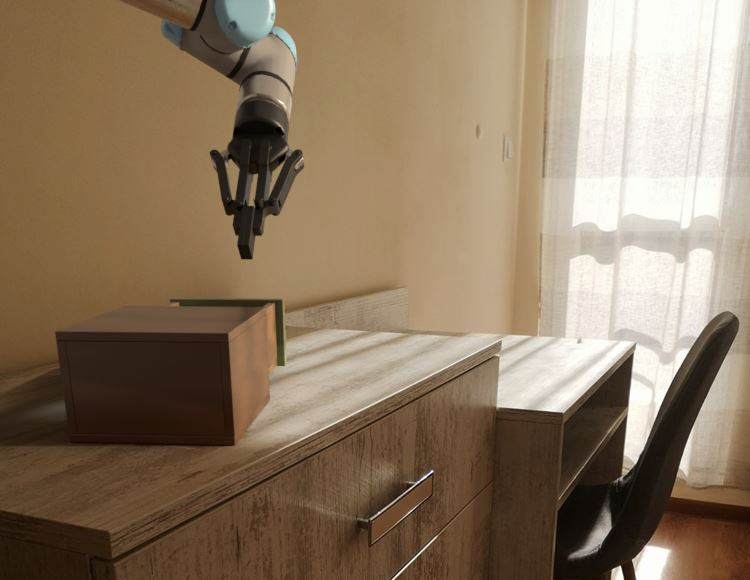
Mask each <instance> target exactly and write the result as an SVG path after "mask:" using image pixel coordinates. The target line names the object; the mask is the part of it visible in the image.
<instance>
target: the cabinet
mask: <svg viewBox="0 0 750 580" xmlns="http://www.w3.org/2000/svg"><path fill="white" fill-rule="evenodd" d="M54 333H55V334H54V335H55V341H56V342H55V343H56V349H57V358H58V365H59V366H58V367H59V370H60V371H59V372H60V379H61V380H60V381H61V387H62V395H63V401H64V410H65V416H66V424H67V431H68V437H69V439H68V440H69V442H70V443H85V444H86V443H87V444H88V443H90V444H92V443H93V444H137V445H139V444H141V445H142V444H144V445H191V446H192V445H198V446H200V445H202V446H236V445H237V443H238V442H239V441H240V440H241V438H242V437H243V436H244V435H245V433H246V432H247V430H248V429H249V428H250V427H251V425H252V424H253V423H254V421H255V420H256V419H257V417H258V416H259V415H260V414H261V412H262V411H263V410H264V409H265V407H266V406H267V404H268V403H269V402H270V399H271V394H270V391H271V390H270V389H271V387H270V374H269V365H268V343H267V321H266V307H194V306H165V305H123V306H121V307H117V308H115V309H112V310H109V311H107V312H104V313H102V314H98V315H96V316H93V317H91V318H88V319H85V320H83V321H80V322H77V323H74V324H71V325H69V326H66V327H64V328H60V329H58V330H55V331H54Z"/></svg>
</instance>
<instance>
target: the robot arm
mask: <svg viewBox="0 0 750 580" xmlns="http://www.w3.org/2000/svg"><path fill="white" fill-rule="evenodd" d="M118 1H119V2H121V3H123V4H126V5H128V6H130V7H133V8H136V9H138V10H140V11H142V12H145V13H147V14H150V15H152V16H155V17H157V18H159V19H161V21H160V32H161V35H162V36H163V38H164V39H166V40H168V41H169V42H170V43H171V44H173V45H174V46H176V48H178V49H179V51H182V52H185V53H186V54H188V55H190V56H191V57H193V58H195V59H196V60H198V61H199V62H201V63H203V64H204V65H206V66H208V67H210V68H211V69H212V70H214V71H216V72H217V73H220V74H221V75H222V76H224V77H226V78H227V79H229V80H230V81H232V82H233V83H235V84H237V85H238V86H239V88H238V97H237V103H236V104H237V105H236V110H235V116H234V122H233V123H234V124H233V130H232V138H231V140H230V141H229V142H228V144H227V146H226V149H224V150H222V151H220V152H219V150H217V149H212V150H210V151H209V156H210V159H211V164H212V166H213V170H215V172H216V173H217V180H218V186H219V192H220V198H221V202H222V206H223V210H224V213H225V215H226V216H228V217H230V216H233V219H232V228H233V231H234V234H235V237H237V242H236V247H237V250H238V253H239V256H240V260H253V259H254V251H255V244H256V243H255V242H256V237H262V236H263V235H264V230H265V224H266V223H265V222H266V218H267V217H268V216H271V215H272V216H273V217H277V216H279V215H280V214H281V212H282V210H283V208H284V205H285V203H286V201H287V198H288V196H289V193H290V191H291V188H292V186H293V184H294V181H295V179H296V177H297V176H298V175H299V173H301V172H302V170H304V168H305V162H304V155H303V150H301V149H299V148H297V149H295V150H291V149H290V145H289V143H288V140H289V131H290V122H291V115H292V107H293V95H294V88H295V79H296V78H297V77H296V76H297V72H298V66H297V60H298V57H297V47H296V43H295V41H294V40H293V38H292V36H291V35H290V34H289V32H287V31H286V30H285V29H284V28H282V27H280V26H277V25H275V26H274V23H275V21H276V2H275V0H118ZM231 160H232V162H233V163H234V164H235V166H236V167H237V168H238V169H239V172H238V176H237V177H238V178H237V184H236V190H235V197H234V199H233V196H232V190H231V184H230V177H229V173H228V170H229V167H230V161H231ZM282 164H283V165H282ZM281 165H282V167H281V169H280V172H279V174H278V176H277V178H276V181H275V183H274V185H273V187H272V189H271V183H272V181H273V172H275V171H276V170H277V169H278V168H279V167H280V166H281ZM255 175H257V179H256V185H255V186H256V187H255V188H256V189H255V195H254V198H252V199H253V204H254V205H250V197H251V192H252V185H253V183H254V177H255ZM270 189H271V190H270ZM270 191H271V192H270Z"/></svg>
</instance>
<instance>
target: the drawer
mask: <svg viewBox="0 0 750 580" xmlns="http://www.w3.org/2000/svg"><path fill="white" fill-rule="evenodd" d="M164 306H194V307H266V321H267V343H268V365H269V375H271V374H272V372H273V371H274V370H275V369H276V368H277V367H285V366H286V365H287V364H288V362H287V360H288V359H287V336H286V335H287V333H286V308H285V298H251V297H250V298H247V297H246V298H245V297H244V298H243V297H238V298H237V297H234V298H233V297H232V298H231V297H172V298H170V299H169V303H168V304H166V305H164Z"/></svg>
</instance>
